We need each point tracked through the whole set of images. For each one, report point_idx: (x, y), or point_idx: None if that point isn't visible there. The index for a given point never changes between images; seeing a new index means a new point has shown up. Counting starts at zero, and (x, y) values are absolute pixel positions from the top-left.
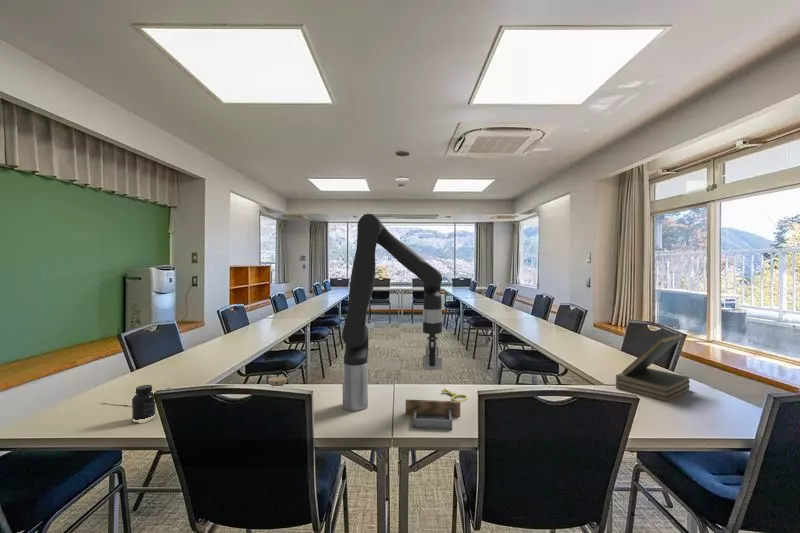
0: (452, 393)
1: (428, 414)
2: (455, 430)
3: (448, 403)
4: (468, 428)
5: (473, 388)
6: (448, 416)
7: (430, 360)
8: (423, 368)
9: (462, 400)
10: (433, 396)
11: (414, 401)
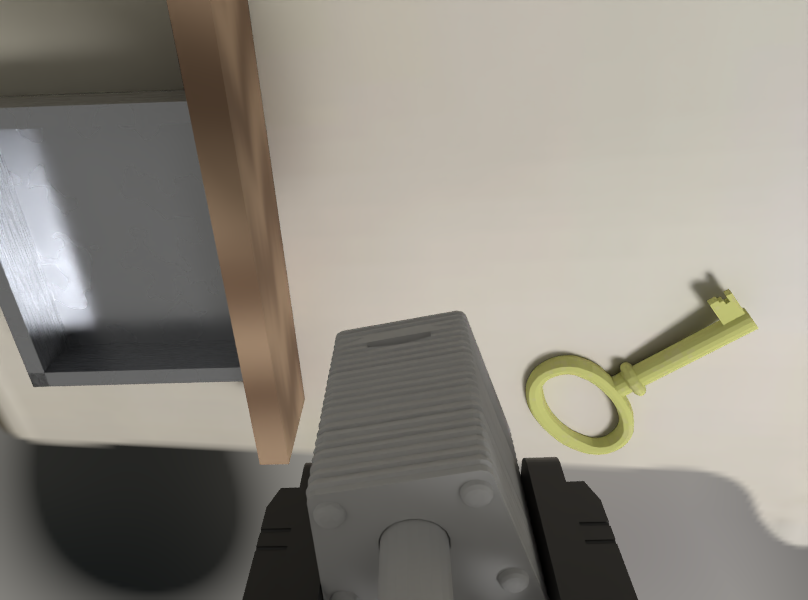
0: (649, 375)
1: None
2: None
3: (248, 387)
4: (122, 432)
5: (784, 490)
6: (233, 339)
7: (254, 566)
8: (385, 326)
9: (540, 423)
10: (650, 222)
11: (189, 103)
